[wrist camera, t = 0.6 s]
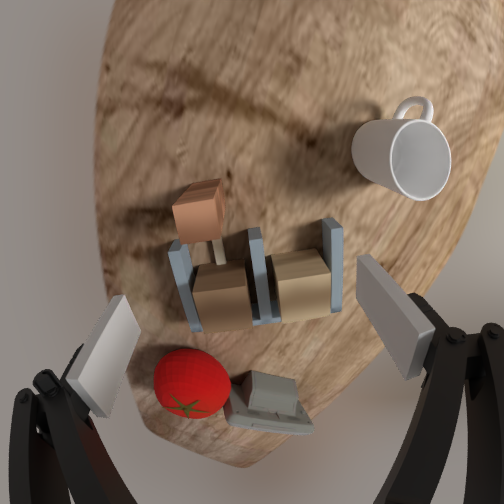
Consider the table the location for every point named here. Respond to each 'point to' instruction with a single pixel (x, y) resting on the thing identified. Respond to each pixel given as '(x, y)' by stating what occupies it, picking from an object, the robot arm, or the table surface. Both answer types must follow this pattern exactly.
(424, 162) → the cup
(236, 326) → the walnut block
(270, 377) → the digital clock
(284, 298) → the oak block
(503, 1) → the table surface
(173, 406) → the tomato
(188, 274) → the lane shelf
